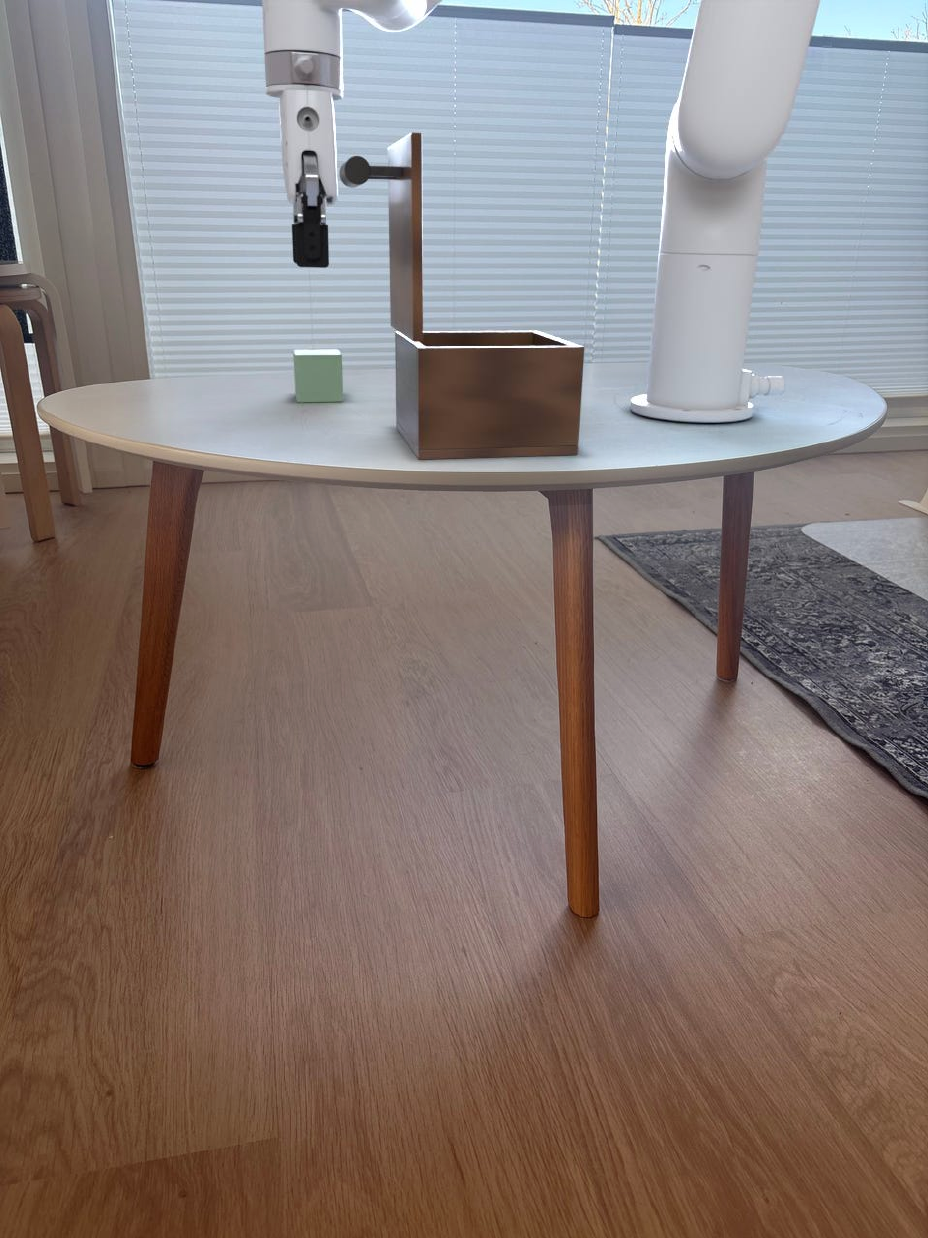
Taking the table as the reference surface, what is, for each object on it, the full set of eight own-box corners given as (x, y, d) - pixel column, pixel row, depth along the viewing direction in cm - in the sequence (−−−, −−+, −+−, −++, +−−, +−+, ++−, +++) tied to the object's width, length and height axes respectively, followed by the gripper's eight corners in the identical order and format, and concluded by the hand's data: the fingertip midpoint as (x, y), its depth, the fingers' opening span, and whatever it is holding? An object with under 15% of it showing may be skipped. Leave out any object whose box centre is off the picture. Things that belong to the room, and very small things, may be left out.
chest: (534, 424, 91) (538, 330, 87) (578, 454, 78) (584, 346, 75) (396, 428, 88) (395, 331, 85) (418, 459, 76) (418, 347, 72)
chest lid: (396, 148, 79) (334, 146, 78) (422, 132, 67) (348, 129, 66) (399, 326, 85) (340, 326, 84) (423, 341, 72) (355, 342, 71)
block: (339, 394, 106) (338, 349, 104) (343, 401, 102) (341, 354, 100) (295, 395, 105) (292, 349, 103) (297, 402, 101) (294, 354, 99)
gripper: (350, 68, 84) (353, 269, 91) (335, 93, 100) (339, 263, 107) (266, 62, 83) (275, 267, 90) (264, 89, 99) (272, 261, 105)
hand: (310, 265), depth 98 cm, fingers open, 9 cm apart
